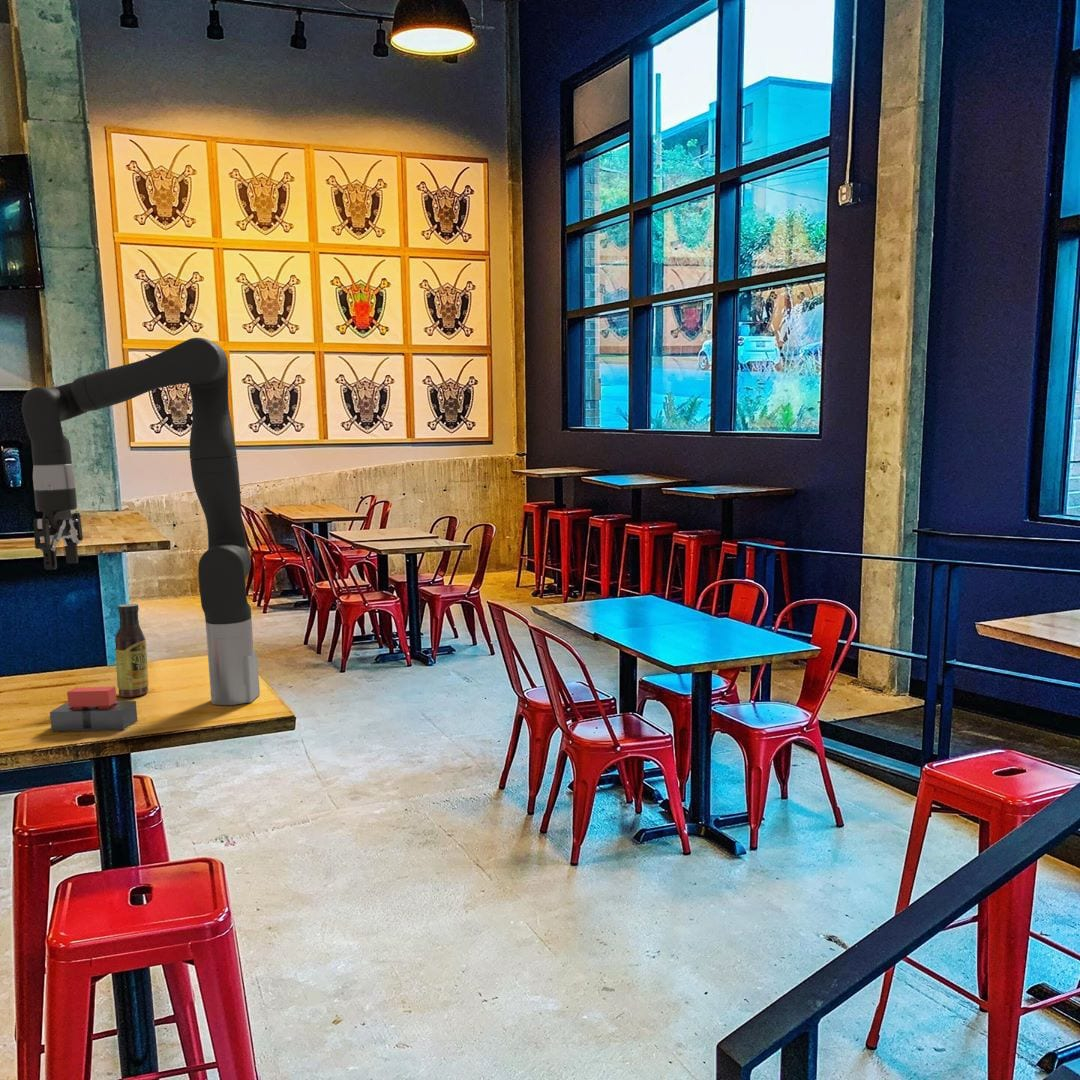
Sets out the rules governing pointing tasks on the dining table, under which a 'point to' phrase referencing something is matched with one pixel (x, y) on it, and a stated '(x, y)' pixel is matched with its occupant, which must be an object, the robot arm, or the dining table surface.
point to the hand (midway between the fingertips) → (62, 566)
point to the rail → (94, 717)
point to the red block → (91, 697)
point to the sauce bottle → (131, 654)
